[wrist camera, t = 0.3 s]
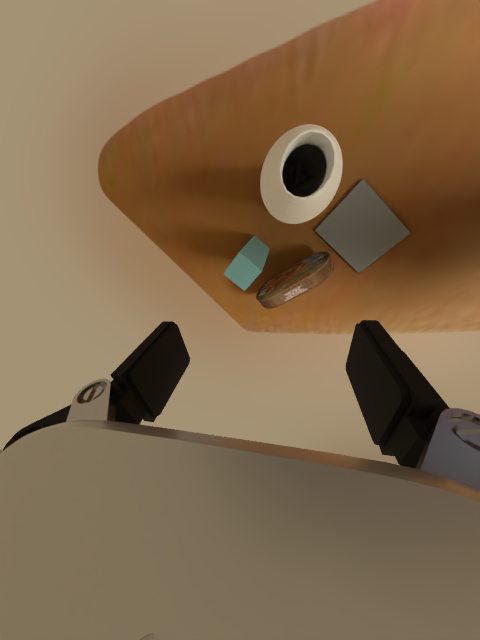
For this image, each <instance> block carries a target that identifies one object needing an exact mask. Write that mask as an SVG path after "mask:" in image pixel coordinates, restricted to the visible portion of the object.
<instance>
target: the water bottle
mask: <svg viewBox="0 0 480 640" xmlns="http://www.w3.org/2000/svg"><path fill="white" fill-rule="evenodd" d="M342 167H343V161H342V153H341V150H340V146H339V144H338V142H337V140H336V138H335V137H334V136H333V135H332V134H331V133H330V131H328V130H327V129H325V128H323V127H321V126H318V125H313V124H306V125H301V126H297V127H295V128H293V129H291V130H289V131H288V132H286V133H285V134H283V135H282V136H281V137H280V138H279V139H278V140H277V141H276V142H275V143H274V145H273V146H272V148H271V149H270V151H269V153H268V154H267V156H266V158H265V161H264V164H263V167H262V171H261V178H260V190H261V196H262V200H263V202H264V205H265V207H266V208H267V210H268V211H269V213H270V214H271V215H272V216H273V217H274V218H276V219H277V220H279V221H281V222H284V223H288V224H299V223H304V222H306V221H309V220H311V219H313V218H314V217H316V216H317V215H319V214H320V213H321V212H322V211H323V210H324V209H325V208H326V207H327V206H328V205H329V203H330V202H331V200H332V199H333V197H334V195H335V194H336V192H337V189H338V187H339V184H340V181H341V176H342Z"/></svg>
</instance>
